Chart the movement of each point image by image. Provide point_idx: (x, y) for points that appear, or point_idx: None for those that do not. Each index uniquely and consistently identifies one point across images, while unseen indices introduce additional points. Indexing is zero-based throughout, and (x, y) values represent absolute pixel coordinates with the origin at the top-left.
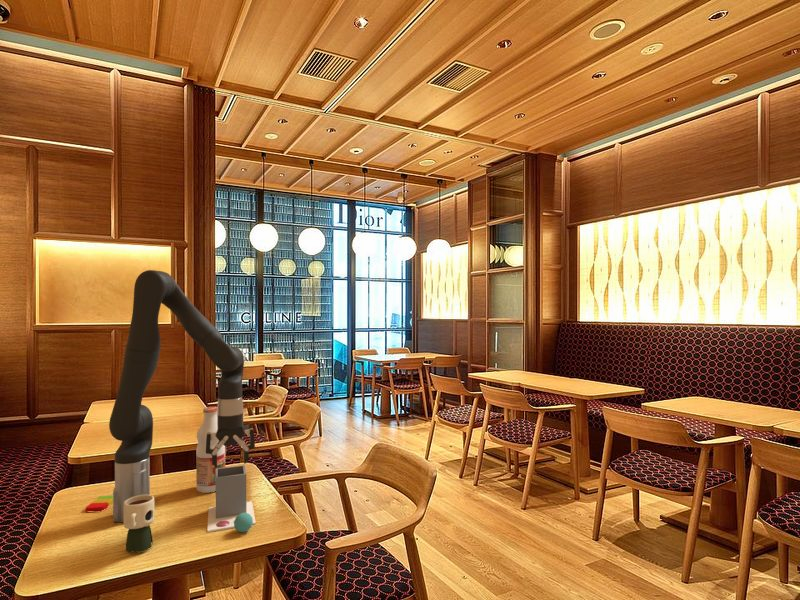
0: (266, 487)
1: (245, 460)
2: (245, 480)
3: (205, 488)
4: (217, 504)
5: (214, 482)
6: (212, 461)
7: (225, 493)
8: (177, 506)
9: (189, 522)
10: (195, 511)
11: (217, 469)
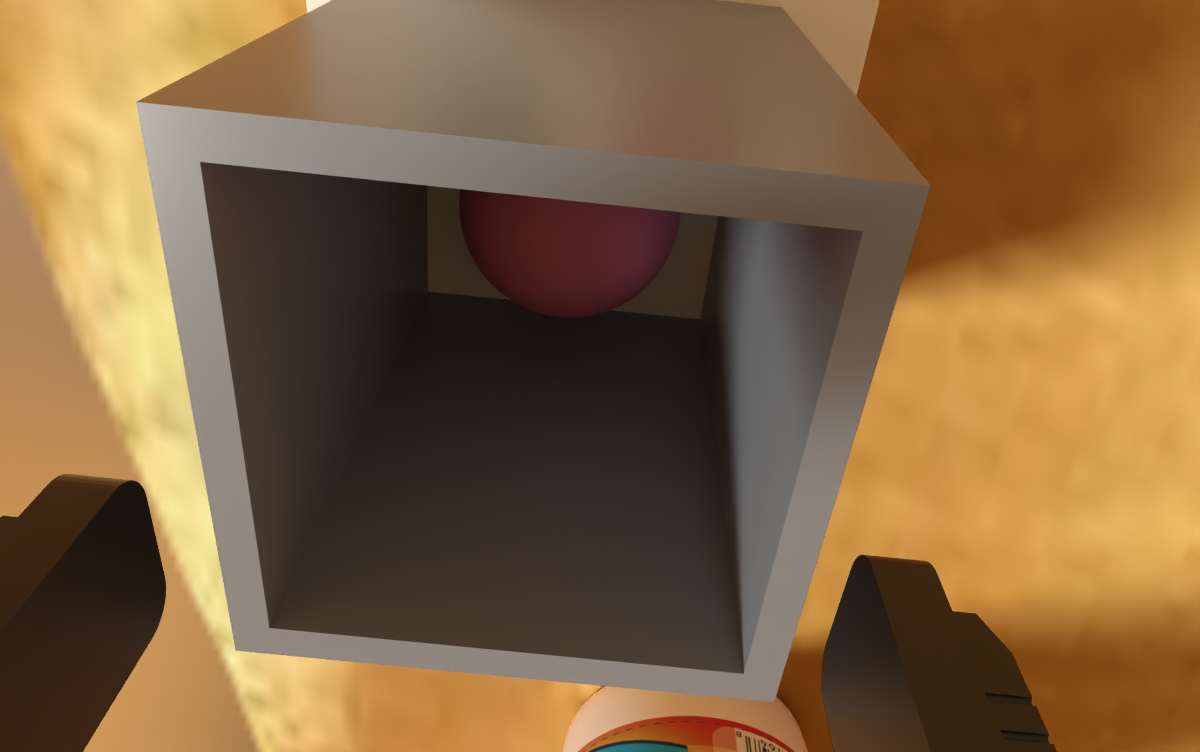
0: (196, 569)
1: (42, 521)
2: (228, 66)
3: (751, 709)
4: (785, 41)
5: (672, 740)
6: (1024, 714)
7: (669, 61)
8: (1035, 537)
9: (1061, 103)
10: (921, 357)
11: (753, 656)
